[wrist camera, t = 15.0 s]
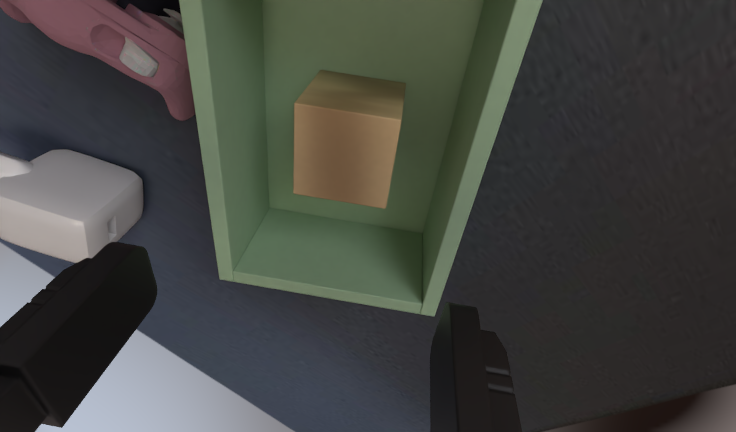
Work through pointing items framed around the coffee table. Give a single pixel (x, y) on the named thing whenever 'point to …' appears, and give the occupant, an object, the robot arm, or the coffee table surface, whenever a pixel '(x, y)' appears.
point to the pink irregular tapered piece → (119, 41)
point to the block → (347, 138)
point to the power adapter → (67, 203)
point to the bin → (414, 149)
